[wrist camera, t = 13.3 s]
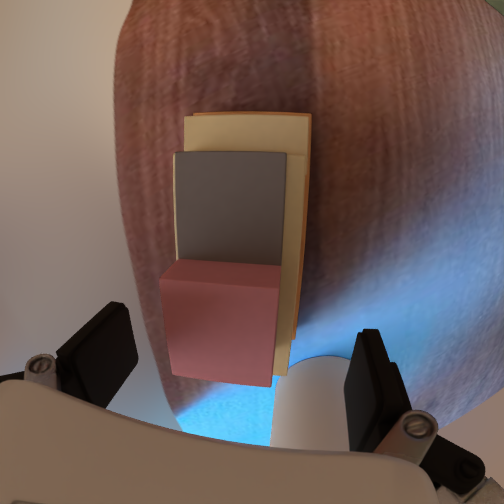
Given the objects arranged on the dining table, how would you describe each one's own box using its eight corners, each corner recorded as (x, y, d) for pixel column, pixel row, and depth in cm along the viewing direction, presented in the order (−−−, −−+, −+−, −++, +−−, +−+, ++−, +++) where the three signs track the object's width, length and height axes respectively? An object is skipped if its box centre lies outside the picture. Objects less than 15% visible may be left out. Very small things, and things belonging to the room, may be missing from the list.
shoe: (200, 115, 18) (163, 102, 12) (310, 116, 17) (319, 100, 11) (204, 320, 23) (179, 370, 17) (294, 328, 22) (294, 383, 16)
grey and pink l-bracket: (183, 151, 13) (151, 152, 9) (287, 152, 12) (286, 152, 9) (192, 339, 16) (173, 379, 13) (275, 348, 15) (270, 392, 12)
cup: (265, 364, 23) (234, 552, 8) (364, 346, 22) (408, 535, 7) (285, 423, 26) (271, 570, 11) (368, 409, 24) (390, 557, 9)
